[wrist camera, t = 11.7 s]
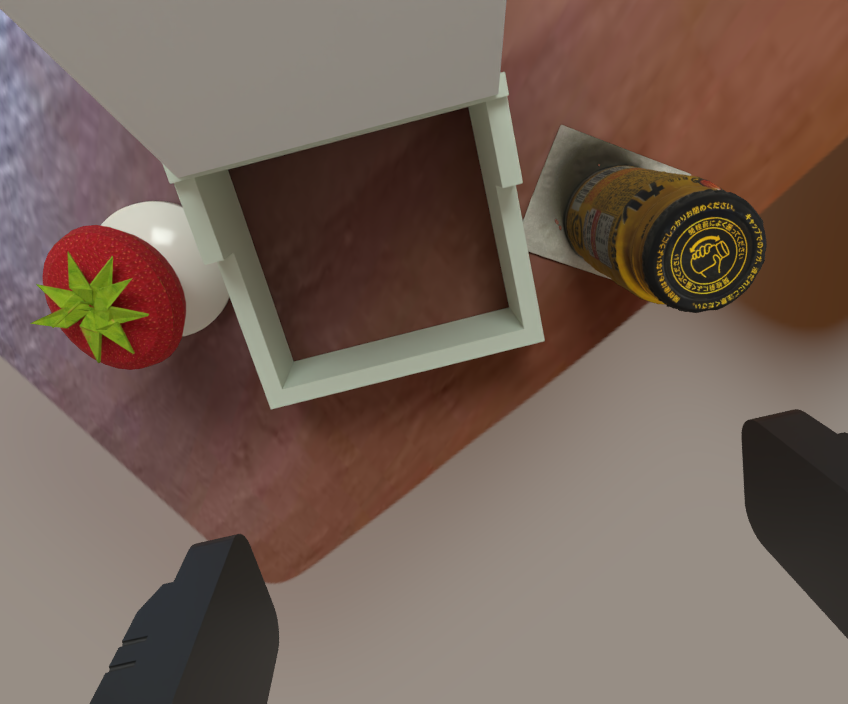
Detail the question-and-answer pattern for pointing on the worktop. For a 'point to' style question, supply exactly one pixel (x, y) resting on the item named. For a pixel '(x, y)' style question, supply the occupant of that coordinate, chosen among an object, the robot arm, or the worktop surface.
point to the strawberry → (114, 297)
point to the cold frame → (300, 135)
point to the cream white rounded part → (177, 257)
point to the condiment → (643, 225)
